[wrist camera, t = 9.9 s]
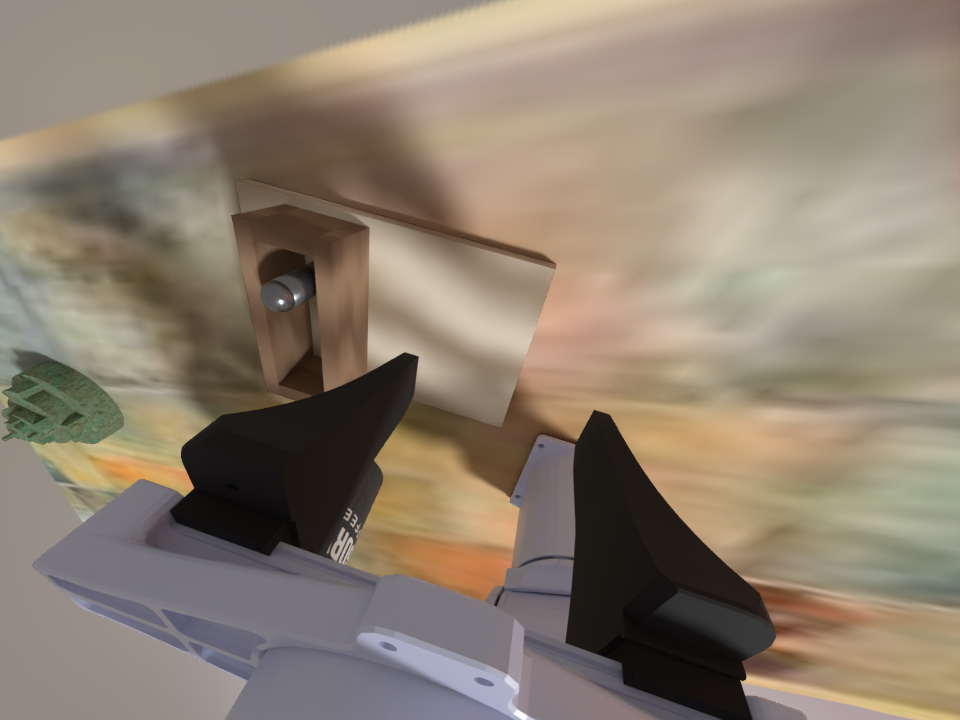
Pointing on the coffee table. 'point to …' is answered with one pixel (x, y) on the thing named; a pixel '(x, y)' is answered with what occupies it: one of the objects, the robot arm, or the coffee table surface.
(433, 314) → the birch board
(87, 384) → the decorative artifact
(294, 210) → the walnut link
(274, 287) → the peg
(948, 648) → the coffee table surface
